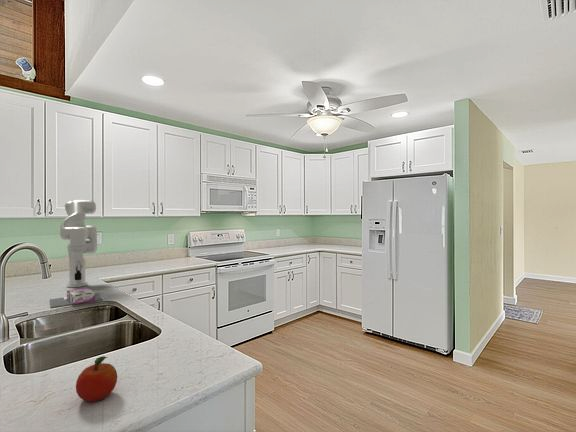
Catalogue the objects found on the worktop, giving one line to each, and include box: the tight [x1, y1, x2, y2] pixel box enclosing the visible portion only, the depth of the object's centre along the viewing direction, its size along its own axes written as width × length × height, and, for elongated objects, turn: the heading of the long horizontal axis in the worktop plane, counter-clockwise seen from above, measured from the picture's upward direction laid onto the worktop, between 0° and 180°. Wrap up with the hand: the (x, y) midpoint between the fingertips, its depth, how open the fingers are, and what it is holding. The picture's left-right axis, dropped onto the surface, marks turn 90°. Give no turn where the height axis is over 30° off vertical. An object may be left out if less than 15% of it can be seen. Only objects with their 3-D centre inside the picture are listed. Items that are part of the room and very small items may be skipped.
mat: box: [49, 292, 103, 309], centre depth 178 cm, size 20×24×1 cm
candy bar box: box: [66, 287, 96, 305], centre depth 177 cm, size 11×5×16 cm
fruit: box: [75, 356, 118, 403], centre depth 82 cm, size 10×10×10 cm
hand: (78, 279), depth 180 cm, fingers closed
